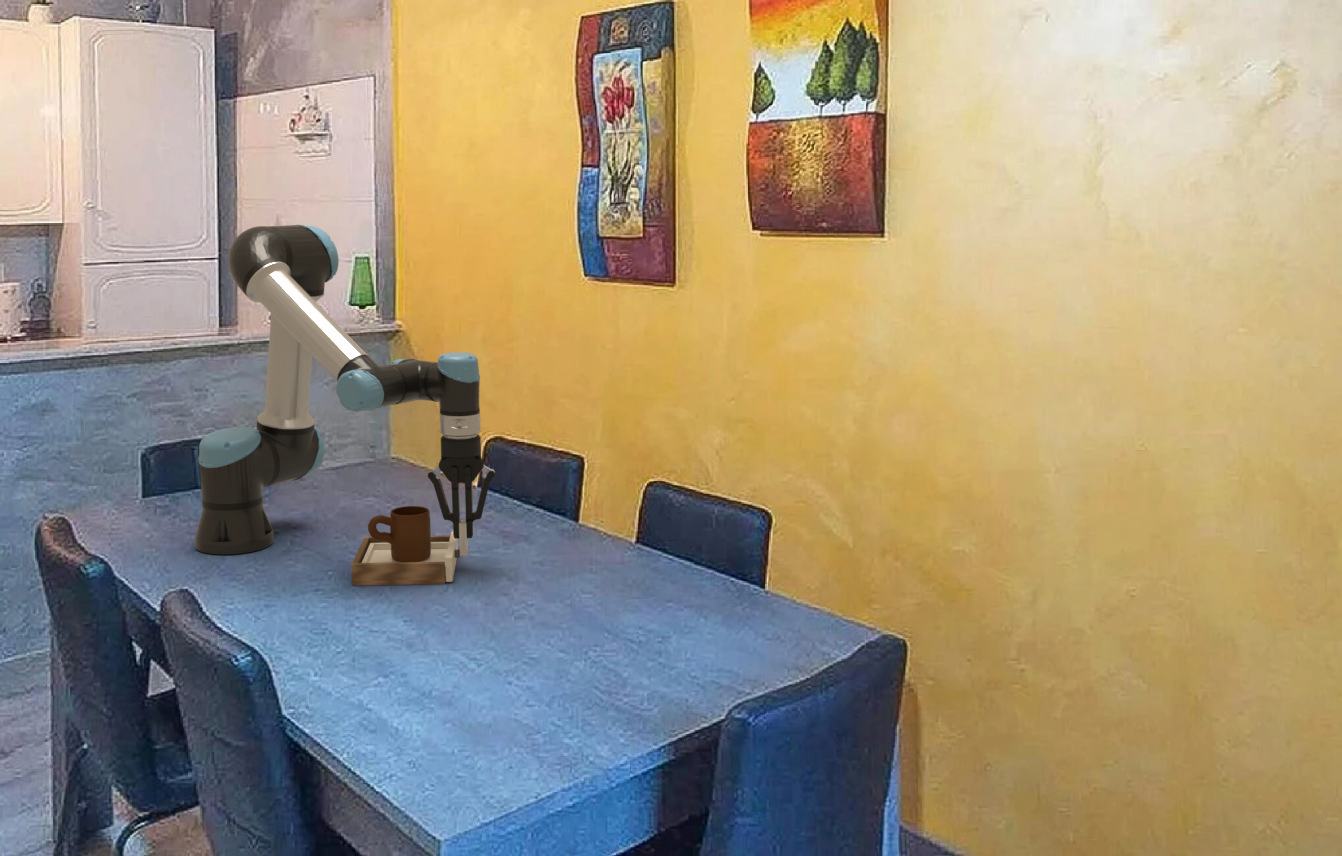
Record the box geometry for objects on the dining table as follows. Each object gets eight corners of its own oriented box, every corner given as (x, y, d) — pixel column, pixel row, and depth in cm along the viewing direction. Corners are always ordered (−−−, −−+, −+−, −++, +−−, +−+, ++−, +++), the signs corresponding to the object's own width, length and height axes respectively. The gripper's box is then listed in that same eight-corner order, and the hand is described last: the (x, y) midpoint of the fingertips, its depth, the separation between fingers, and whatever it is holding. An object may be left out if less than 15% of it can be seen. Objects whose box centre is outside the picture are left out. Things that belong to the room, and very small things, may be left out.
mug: (374, 568, 226) (373, 520, 224) (363, 557, 232) (362, 510, 230) (436, 560, 231) (435, 513, 230) (423, 549, 238) (422, 503, 236)
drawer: (359, 583, 222) (358, 558, 221) (371, 554, 239) (370, 532, 238) (457, 581, 224) (457, 557, 223) (463, 553, 241) (462, 530, 240)
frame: (351, 585, 222) (351, 564, 221) (365, 555, 239) (364, 536, 239) (444, 583, 224) (444, 563, 223) (450, 554, 241) (450, 535, 241)
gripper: (424, 439, 223) (428, 560, 228) (494, 438, 225) (496, 559, 230) (427, 431, 231) (431, 549, 235) (495, 430, 232) (497, 547, 237)
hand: (463, 553), depth 232 cm, fingers closed
